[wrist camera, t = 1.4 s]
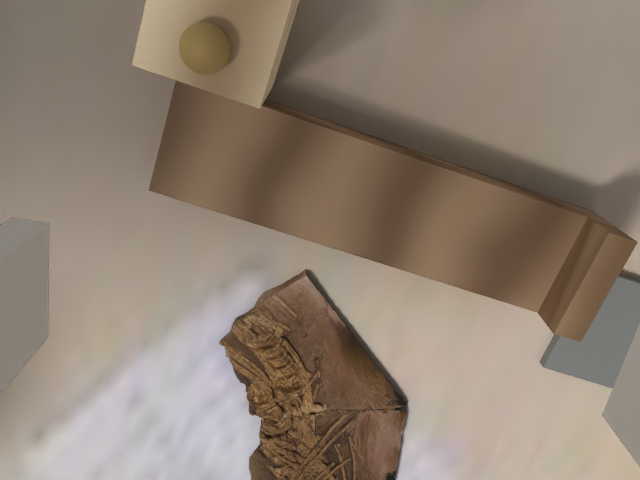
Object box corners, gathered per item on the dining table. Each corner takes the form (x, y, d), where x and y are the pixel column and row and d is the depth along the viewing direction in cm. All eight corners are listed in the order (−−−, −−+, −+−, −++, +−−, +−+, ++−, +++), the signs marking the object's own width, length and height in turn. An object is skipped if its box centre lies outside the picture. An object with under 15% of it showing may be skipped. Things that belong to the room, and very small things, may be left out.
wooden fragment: (207, 282, 35) (204, 290, 34) (388, 256, 35) (391, 263, 34) (280, 587, 44) (279, 600, 43) (424, 569, 44) (427, 582, 43)
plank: (160, 178, 33) (136, 203, 28) (186, 73, 31) (165, 81, 26) (546, 301, 36) (580, 342, 31) (594, 212, 34) (637, 242, 29)
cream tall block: (181, 52, 30) (126, 66, 21) (207, -49, 29) (158, -80, 20) (274, 84, 31) (258, 111, 22) (304, -13, 29) (299, -28, 20)
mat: (539, 361, 37) (543, 367, 37) (592, 265, 35) (597, 269, 34) (636, 391, 38) (641, 396, 37) (694, 299, 36) (700, 303, 35)
